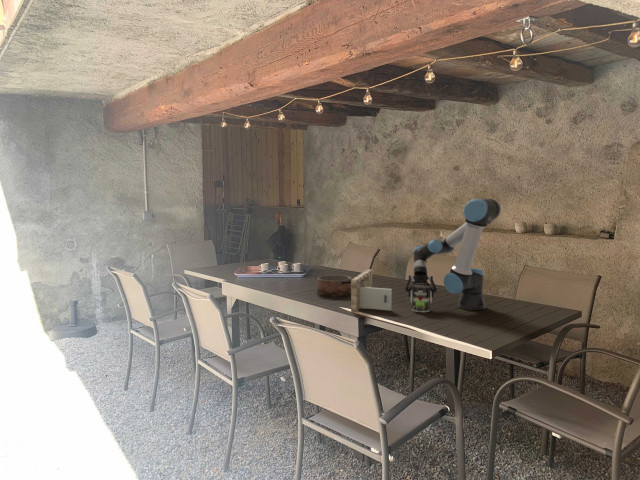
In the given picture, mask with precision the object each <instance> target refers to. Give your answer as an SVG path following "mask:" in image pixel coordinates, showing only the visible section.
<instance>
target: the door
mask: <svg viewBox="0 0 640 480" xmlns="http://www.w3.org/2000/svg"><path fill="white" fill-rule="evenodd" d="M392 292H393V289H392V288H383V287H381V288H380V287H372V288H370V287H364V286H360V304H359V309H368V310H370V309H371V310H379V311H380V310H382V311H392V302H393V301H392V298H393V297H392Z"/></svg>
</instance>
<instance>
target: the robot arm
mask: <svg viewBox="0 0 640 480" xmlns="http://www.w3.org/2000/svg"><path fill="white" fill-rule="evenodd" d="M501 211H502V209H501V205H500V203H499V202H498V201H497V200H495V199H492V198H474V199H471V200H469V201H468V202H467V203H466V204H465V206H464V208H463V215H464V217H465V219H464V223H463V224H462V225H461V226H459V227H458V228H457V229H456V230H454V231H453V232H452V233H450V234H449V235H448V236H446V238H444V239H443V240H441V241H440V240H439V239H436V238H434V239H432V240H430V241H428V243H426V244H425V245H418V246H415V247H414V248H413V254H412V255H413V276H412V275H408V281H407V283H406V285H405V289H404V291H405V292H406V293H407V292H408V298H410V304H412V285H414V284H425V285H429V286H431V288H430V305H431V304H432V303H433V299H434V298H435V297H434V296H435V295H434V293H437V291H438V289H437V286H436V284H435V282H434V280H433V279H434V277H433V275H431V276H428V265H427V264H428V262H427V260H428V259H430V258H432V257H433V256H435V255H442V254H443V255H444V254H449V253H452V252H454V250H455V248H456V247H457V246H458V245H460V247H459V250H458V254H457V258H456V260H455V264H453V265H451V268H450V272H449V273H447V274H446V275H444V278H443V285H444V287H445V290H447V291H448V292H449V293H450V294H458V295H459V294H460V295H459V299H458V301H457V307H458V308H459V309H462V310H467V311H484V310H485V309H486V302H485V299H484V295H483V290H484V270H483V269H481V268H473V267H472V266H473V263H474V260H475V258H476V257H475V256H476V253H477V249H478V248H479V247H478V246H479V243H480V241H481V237H482V234H483V231H484V229H485V228H487V227H488V225H490V224H491V223H492V222H494V221H495V220H496V219H498V217H499V216H500V214H501ZM413 280H414V281H413ZM428 280H429V282H430V284H429V282H428ZM412 281H413V282H412ZM411 283H412V284H411ZM410 284H411V286H410Z"/></svg>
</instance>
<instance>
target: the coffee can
mask: <svg viewBox="0 0 640 480" xmlns="http://www.w3.org/2000/svg"><path fill="white" fill-rule="evenodd" d="M411 285H412V284H411ZM429 285H430V284H429ZM429 285H425V284H424V283H423V284H421V283H420V284H418V283H417V284H414V285H412V303H411V311H413V312H416V313H428V312H430V311H431V303H430V288H431V287H432V285H430V286H429Z"/></svg>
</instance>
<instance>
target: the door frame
mask: <svg viewBox="0 0 640 480" xmlns="http://www.w3.org/2000/svg"><path fill="white" fill-rule="evenodd" d="M361 281H363V287H370V288H373V270H372V269H366V270H365V271H363V272H361V273H360V274H358V275H357V276H355V277H353V278H351V294H350V297H351V298H350V312H352V313H357V312H358V311H359V310H360V287H361V285H360V283H361Z"/></svg>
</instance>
